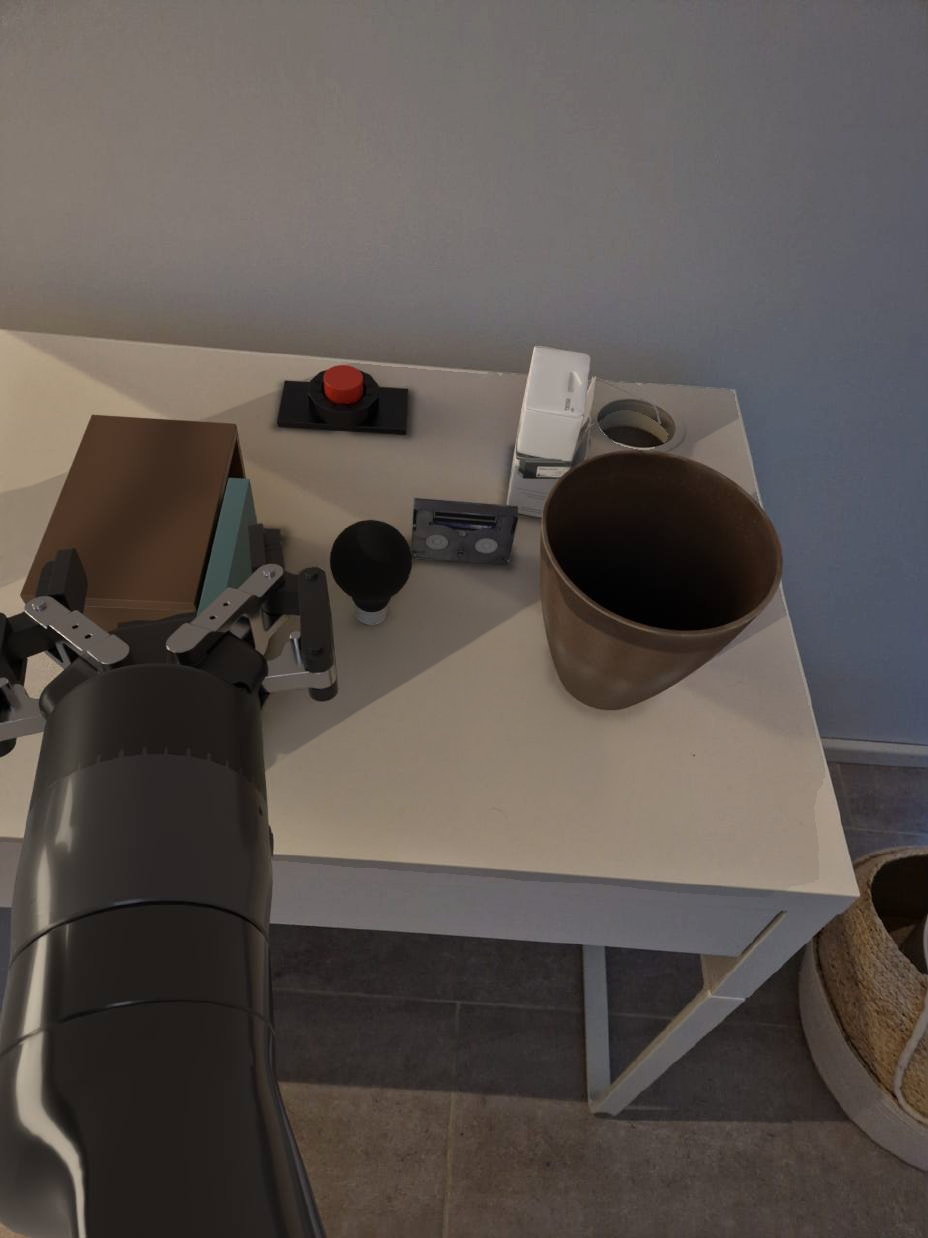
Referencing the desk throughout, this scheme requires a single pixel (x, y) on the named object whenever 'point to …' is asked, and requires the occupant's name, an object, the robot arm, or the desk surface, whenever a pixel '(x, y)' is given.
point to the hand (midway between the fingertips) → (167, 550)
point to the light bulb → (371, 566)
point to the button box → (343, 408)
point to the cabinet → (142, 514)
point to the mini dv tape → (463, 531)
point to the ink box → (548, 426)
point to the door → (230, 543)
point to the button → (343, 384)
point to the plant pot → (649, 572)
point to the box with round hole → (586, 440)
